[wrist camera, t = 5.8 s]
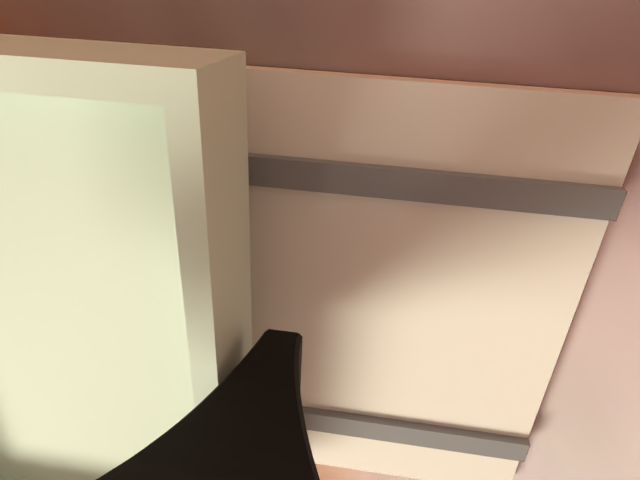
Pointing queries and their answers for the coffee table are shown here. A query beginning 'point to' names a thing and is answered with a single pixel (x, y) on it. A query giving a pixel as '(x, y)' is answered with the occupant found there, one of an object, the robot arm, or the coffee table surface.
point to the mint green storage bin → (117, 246)
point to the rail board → (427, 254)
